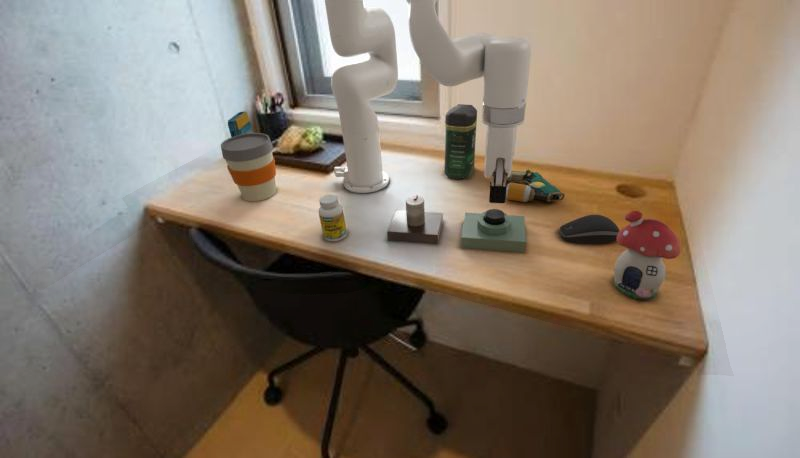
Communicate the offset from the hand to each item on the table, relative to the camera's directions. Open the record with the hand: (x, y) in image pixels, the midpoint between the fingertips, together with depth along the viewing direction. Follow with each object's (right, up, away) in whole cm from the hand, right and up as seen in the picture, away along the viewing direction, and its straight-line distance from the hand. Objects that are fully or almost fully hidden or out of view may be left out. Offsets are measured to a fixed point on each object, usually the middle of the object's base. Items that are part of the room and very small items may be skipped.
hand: (497, 201), depth 85 cm
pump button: (0, -4, +3) cm, 5 cm away
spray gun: (+13, +4, +21) cm, 25 cm away
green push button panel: (0, -7, +5) cm, 9 cm away
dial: (-16, -4, +7) cm, 18 cm away
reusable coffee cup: (-58, +4, +29) cm, 65 cm away
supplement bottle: (-35, -7, +9) cm, 37 cm away
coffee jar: (-3, +10, +32) cm, 34 cm away
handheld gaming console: (-67, +15, +47) cm, 83 cm away
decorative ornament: (+22, -16, -10) cm, 29 cm away
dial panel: (-16, -6, +9) cm, 19 cm away
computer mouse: (+21, -7, +4) cm, 22 cm away
